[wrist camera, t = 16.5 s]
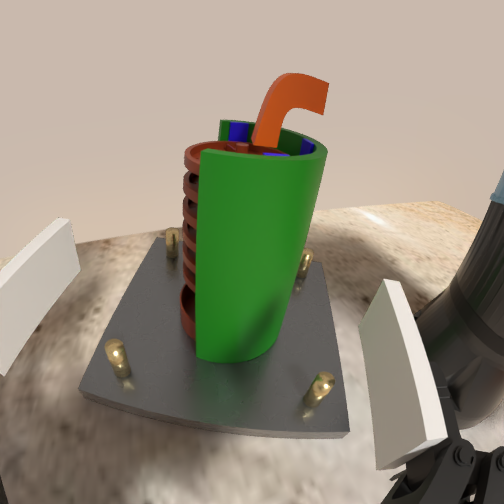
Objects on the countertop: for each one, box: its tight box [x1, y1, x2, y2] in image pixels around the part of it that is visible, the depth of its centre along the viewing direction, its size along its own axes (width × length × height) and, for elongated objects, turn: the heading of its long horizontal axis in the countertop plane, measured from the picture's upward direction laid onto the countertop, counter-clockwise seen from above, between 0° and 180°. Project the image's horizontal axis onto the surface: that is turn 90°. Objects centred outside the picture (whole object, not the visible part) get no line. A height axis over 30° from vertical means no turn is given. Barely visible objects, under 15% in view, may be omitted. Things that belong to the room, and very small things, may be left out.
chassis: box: [78, 228, 350, 439], centre depth 25 cm, size 20×21×4 cm
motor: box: [180, 73, 329, 363], centre depth 20 cm, size 10×9×20 cm
